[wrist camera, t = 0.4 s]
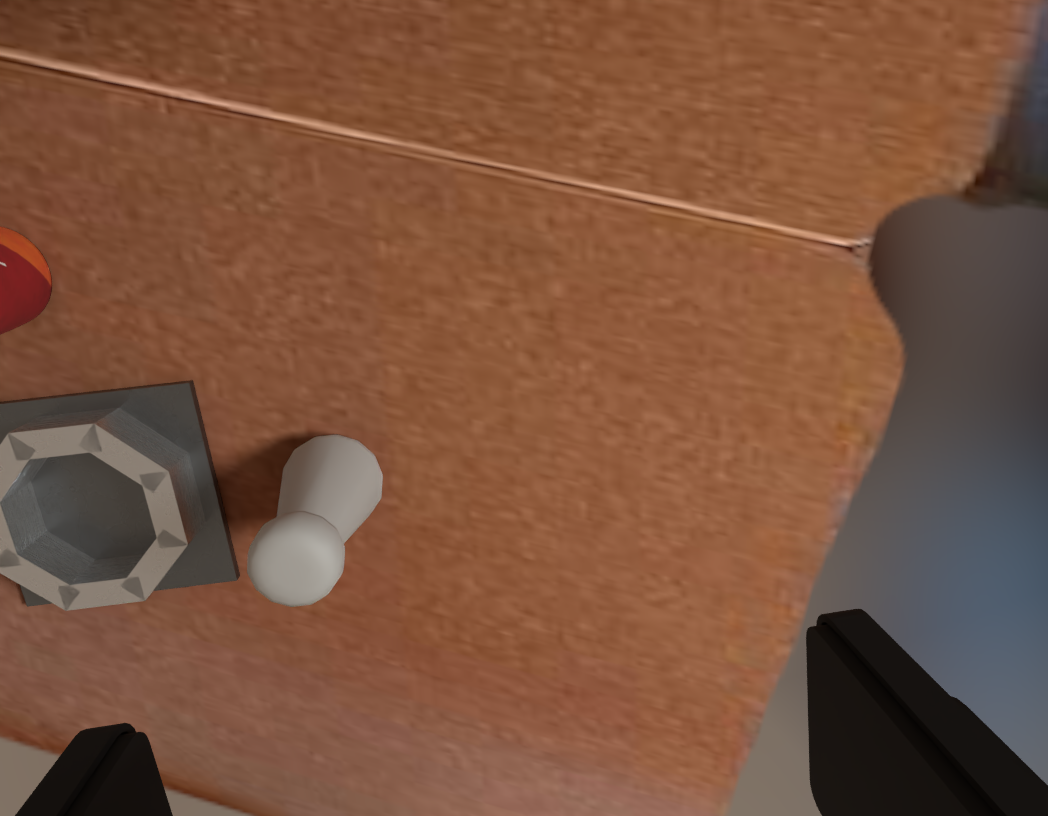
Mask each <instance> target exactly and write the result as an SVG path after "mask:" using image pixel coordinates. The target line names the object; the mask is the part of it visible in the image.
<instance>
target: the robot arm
mask: <svg viewBox="0 0 1048 816" xmlns="http://www.w3.org/2000/svg"><path fill="white" fill-rule="evenodd" d="M806 646H807V686H808V726H809V763H810V785H811V790H812V793H813V797H814V800H815V802H816V805H817V807H818V809H819V811H820V813H821V815H822V816H1048V785H1046V783H1045V782H1043V781H1042V780H1041V779H1040V778H1039V777H1038V776H1037V775H1036V774H1035V773H1034V772H1033V771H1032V770H1031V769H1030V768H1029V767H1028V766H1027V765H1026V764H1025V763H1024V762H1023V761H1022V760H1021V759H1020V758H1019V757H1018V756H1017V755H1016V754H1015V753H1014V752H1013V751H1012V750H1011V749H1010V748H1009V747H1008V746H1007V745H1006V744H1005V743H1004V742H1003V741H1002V740H1001V739H1000V738H999V737H998V736H997V735H996V734H995V733H993V731H992V730H991V729H990V728H988V727H987V726H986V725H985V724H984V723H983V722H982V721H981V720H980V719H979V718H978V717H977V716H976V715H975V714H974V713H973V712H972V711H971V710H970V709H969V708H968V707H967V706H966V705H965V704H963V703H962V702H961V701H960V700H958V699H957V698H954V697H951V696H950V695H949V694H948V693H947V692H946V691H944V689H943V688H941V686H940V685H939V684H938V683H936V681H934V680H933V678H932V677H931V676H930V675H929V674H927V673H926V671H925V670H923V668H922V667H921V666H919V664H918V663H916V662H915V661H914V660H913V659H912V658H911V657H910V656H909V655H908V654H907V653H906V652H905V651H904V650H903V649H902V648H901V647H900V646H899V645H898V644H897V643H896V642H895V641H894V640H893V639H892V638H891V637H890V636H889V635H888V634H887V633H886V632H885V631H884V630H883V629H882V628H881V627H880V626H879V625H878V624H877V623H876V622H875V621H874V620H873V619H872V618H871V617H870V616H869V615H868V614H867V613H866V612H865V611H863V610H862V609H853V610H846V611H840V612H834V613H828V614H822V615H820V616H819V617H818V620H817V625H816V626H813V627H809V628H808V630H807V635H806ZM15 816H173V815H172V812H171V809H170V806H169V803H168V800H167V796H166V793H165V790H164V787H163V783H162V780H161V777H160V774H159V771H158V768H157V764H156V761H155V758H154V755H153V752H152V749H151V745H150V742H149V740H148V737H147V735H145V734H144V733H143V732H136V731H135V729H134V728H133V727H132V726H131V725H130V724H127V723H122V724H116V725H109V726H103V727H96V728H90V729H85V730H83V731H80V732H79V733H78V734H77V735H76V736H75V737H74V739H73V740H72V741H71V743H70V744H69V745H68V746H67V748H66V749H65V750H64V752H63V753H62V754H61V756H60V757H59V758H58V760H57V761H56V762H55V764H54V765H53V767H52V768H51V769H50V770H49V772H48V773H47V774H46V776H45V777H44V778H43V780H42V781H41V782H40V783H39V785H38V786H37V787H36V789H35V790H34V791H33V793H32V794H31V795H30V797H29V798H28V799H27V801H26V802H25V803H24V805H23V806H22V807H21V809H20V810H19V811H18V813H17V814H16V815H15Z"/></svg>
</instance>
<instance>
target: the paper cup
mask: <svg viewBox="0 0 1048 816" xmlns="http://www.w3.org/2000/svg"><path fill="white" fill-rule="evenodd" d="M51 291H52V278H51V273H50V269H49V267H48V264H47V262H46V260H45V258H44V257H43V255H42V254H41V252H40V251H39V250H38V248H37V247H36V246H35V245H34V244H33V243H32V242H31V241H29V240H28V239H27V238H25V237H24V236H22V235H21V234H19V233H17V232H15V231H13V230H10V229H8V228H4V227H0V334H3V333H5V332H8V331H10V330H12V329H14V328H16V327H19V326H21V325H23V324H25V323H27V322H29V321H31V320H32V319H34V318H35V317H37V316H38V315H39V314H40V313H41V312H42V311H43V310H44V308H45V307H46V305H47V304H48V301H49V299H50V296H51Z"/></svg>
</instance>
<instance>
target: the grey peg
mask: <svg viewBox="0 0 1048 816" xmlns="http://www.w3.org/2000/svg"><path fill="white" fill-rule="evenodd" d="M382 480H383V475H382V472H381V469H380V467H379V464H378V462H377V460H376V457H375V455H374V454H373V453H372V452H371V451H369V450H368V449H367V448H366V447H365V446H364V445H363V444H361V443H360V442H359V441H358V440H354V439H351V438H348V437H345V436H342V435H339V434H334V435H325V436H316V437H314V438H312V439H311V440H309V441H307V442H306V443H304V444H302V445H301V446H299V447H298V448H296V449H295V450H294V451H293V453H292V454H291V456H290V458H289V459H288V461H287V463H286V465H285V466H284V468H283V475H282V482H281V489H280V496H279V503H278V511H277V517H276V518H274V519H272V520H270V521H269V522H267V523H265V524H264V525H263V526H262V527H261V529H260V530H259V532H258V533H257V535H256V537H255V539H254V540H253V542H252V544H251V545H250V547H249V552H248V564H247V573H248V575H249V577H250V579H251V581H252V583H253V585H254V587H255V588H256V590H257V591H259V592H260V593H261V594H262V595H264V596H265V597H266V598H268V599H269V600H270V601H271V602H275V603H279V604H282V605H286V606H290V607H294V606H303V605H311V604H313V603H315V602H316V601H318V600H320V599H321V598H323V597H325V596H326V595H328V594H329V592H330V591H331V590H332V588H333V587H334V585H335V584H336V582H337V581H338V579H339V578H340V576H341V575H342V573H343V569H344V558H345V546H344V543H345V542H346V541H347V540H348V539H349V537H350V536H351V535H352V534H353V533H354V532H355V531H356V530H357V529H358V527H359V526H360V525H361V524H362V523H363V522H364V521H365V520H366V519H367V517H368V516H369V515H370V514H371V512H372V511H373V509H374V508H375V507H376V505H377V504H378V502H379V501H380V499H381V495H382Z"/></svg>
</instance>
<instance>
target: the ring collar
mask: <svg viewBox="0 0 1048 816" xmlns="http://www.w3.org/2000/svg"><path fill="white" fill-rule="evenodd" d="M0 573H1V574H2V575H4V576H6V577H8V578H9V579H11V580H13V581H15V582H16V583H18V584H20V587H21V590H22V593H23V596H24V599H25V602H26V604H27V606H35V605H43V604H51V603H53V604H55V605H57V606H59V607H60V608H62V609H64V610H65V611H67V610H75V609H83V608H91V607H99V606H107V605H115V604H123V603H131V602H139V601H146V599H147V598H148V597H149V596H150V594H151V593H152V592H153V591H156V590H164V589H172V588H180V587H188V586H196V585H204V584H212V583H220V582H228V581H236V580H238V578H239V576H240V574H239V569H238V565H237V561H236V557H235V553H234V549H233V545H232V540H231V536H230V532H229V528H228V524H227V520H226V516H225V511H224V507H223V503H222V499H221V495H220V491H219V487H218V482H217V478H216V474H215V470H214V466H213V462H212V458H211V453H210V449H209V445H208V441H207V437H206V433H205V429H204V424H203V420H202V416H201V412H200V408H199V404H198V400H197V396H196V391H195V387H194V383H193V380H192V381H183V382H174V383H165V384H156V385H147V386H138V387H129V388H120V389H111V390H102V391H93V392H84V393H75V394H67V395H58V396H49V397H40V398H31V399H22V400H13V401H4V402H0Z"/></svg>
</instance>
